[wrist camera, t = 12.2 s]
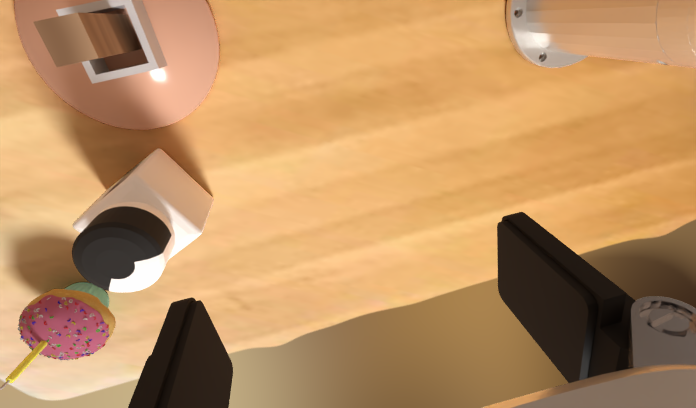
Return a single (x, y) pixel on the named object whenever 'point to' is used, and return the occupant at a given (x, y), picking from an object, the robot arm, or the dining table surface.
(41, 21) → the wooden square post
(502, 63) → the dining table surface
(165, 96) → the clip base
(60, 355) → the cupcake
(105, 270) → the container
